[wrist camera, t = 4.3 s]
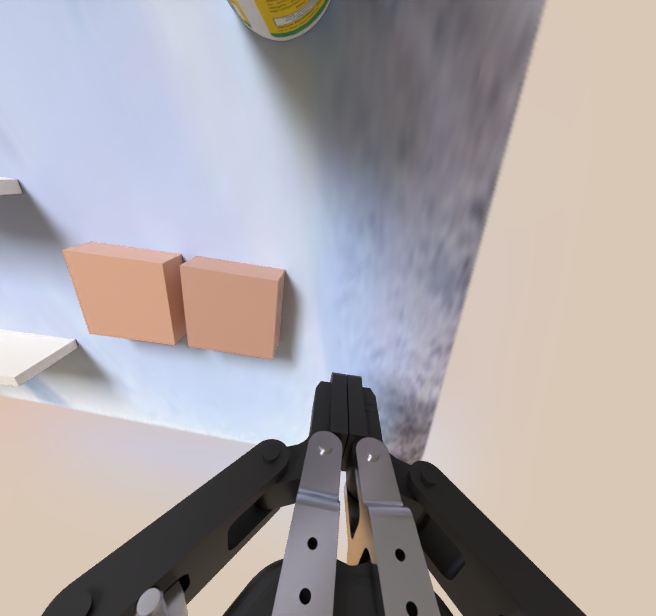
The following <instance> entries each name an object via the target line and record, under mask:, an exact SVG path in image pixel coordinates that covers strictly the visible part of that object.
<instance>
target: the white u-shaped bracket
mask: <svg viewBox="0 0 656 616" xmlns="http://www.w3.org/2000/svg"><path fill="white" fill-rule="evenodd" d="M7 194H22V191H21V188H20V185H19V183H18V180H17V179H11V178H4V177H0V195H7ZM76 348H78V346H77V344H76V341H75V339H67V338H60V337H53V336H45V335H38V334H31V333H23V332H16V331H9V330H1V329H0V384H4V385H11V386H20V385H22V384H23V383H25V382H26V381H28V380H29V379H31V378H32V377H34V376H36V375H37V374H39V373H40V372H42V371H43V370H45V369H46V368H48V367H49V366H51V365H52V364H54V363H55V362H57V361H58V360H60V359H61V358H63V357H64V356H66V355H67V354H69V353H70V352H72V351H73V350H75V349H76Z"/></svg>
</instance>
